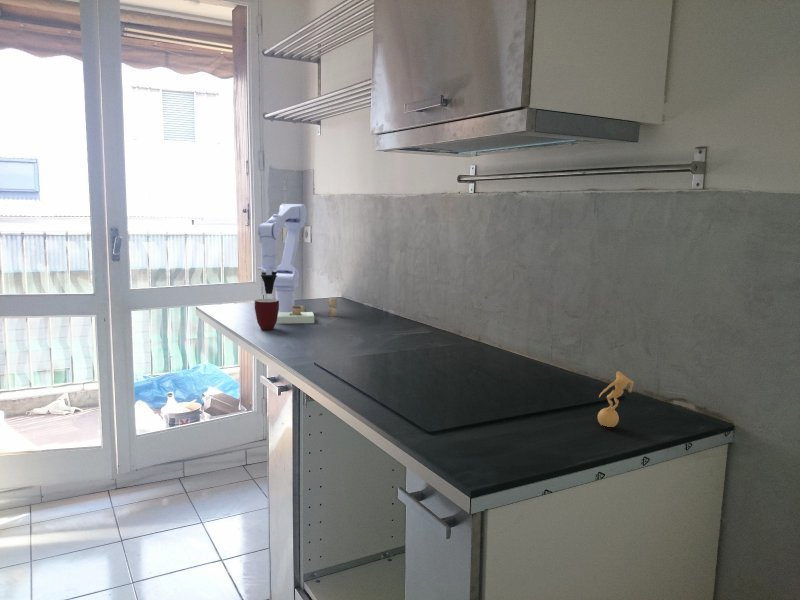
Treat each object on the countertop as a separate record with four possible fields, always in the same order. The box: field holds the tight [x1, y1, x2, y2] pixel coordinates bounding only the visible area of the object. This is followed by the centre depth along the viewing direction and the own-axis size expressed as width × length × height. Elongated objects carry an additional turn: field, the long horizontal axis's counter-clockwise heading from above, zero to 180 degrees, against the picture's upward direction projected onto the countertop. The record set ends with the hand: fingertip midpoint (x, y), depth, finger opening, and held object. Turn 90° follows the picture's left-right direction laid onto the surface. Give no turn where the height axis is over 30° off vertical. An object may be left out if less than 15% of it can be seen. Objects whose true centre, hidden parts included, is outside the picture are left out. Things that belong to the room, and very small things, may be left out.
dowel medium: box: [292, 305, 302, 315], centre depth 223 cm, size 3×3×6 cm
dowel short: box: [300, 305, 306, 312], centre depth 233 cm, size 3×3×4 cm
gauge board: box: [277, 311, 315, 325], centre depth 223 cm, size 9×13×2 cm
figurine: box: [597, 370, 635, 428], centre depth 119 cm, size 8×6×12 cm
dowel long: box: [328, 297, 338, 318], centre depth 235 cm, size 3×3×7 cm
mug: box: [254, 298, 279, 331], centre depth 208 cm, size 10×8×10 cm
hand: (269, 292), depth 226 cm, fingers open, 7 cm apart
